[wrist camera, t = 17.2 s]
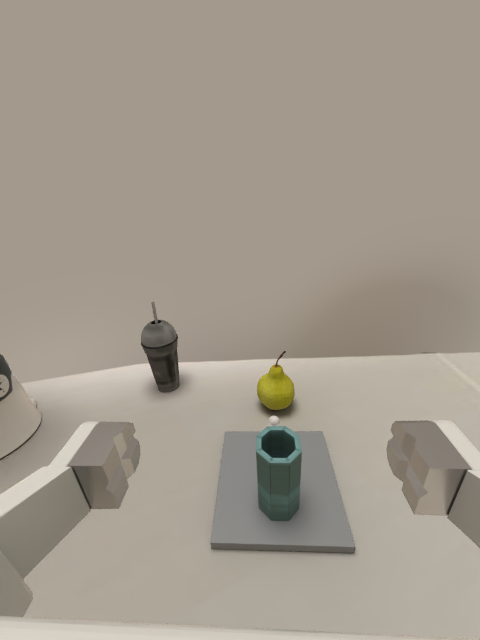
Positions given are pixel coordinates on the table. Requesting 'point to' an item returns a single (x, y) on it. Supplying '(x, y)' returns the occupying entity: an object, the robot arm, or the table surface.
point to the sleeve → (278, 472)
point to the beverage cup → (161, 352)
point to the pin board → (254, 526)
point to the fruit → (276, 388)
